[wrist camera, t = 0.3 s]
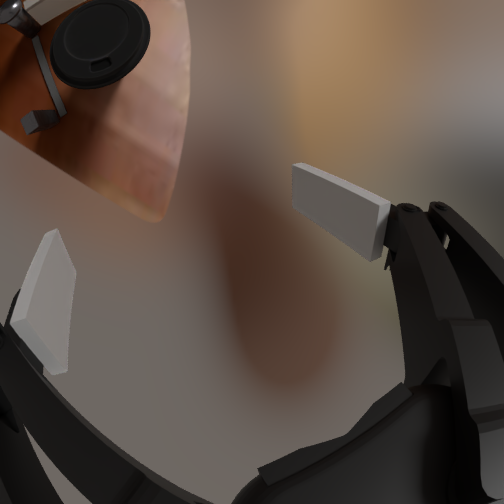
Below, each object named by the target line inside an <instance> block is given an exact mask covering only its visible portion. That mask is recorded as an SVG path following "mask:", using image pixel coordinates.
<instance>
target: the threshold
mask: <svg viewBox="0 0 504 504" xmlns="http://www.w3.org/2000/svg"><path fill="white" fill-rule="evenodd" d="M32 42H33V45H34V49H35V52H36V55H37V58H38V61H39V64H40V67H41V69H42V72H43V75H44V78H45V80H46V83H47V86H48V88H49V91H50V93H51V96H52V98H53V100H54V103H55V105H56V108H57V110H58V112H59V115H60V117H62V116H63V115H65V114H67V111H66V109H65V107H64V104H63V102H62V100H61V97H60V95H59V92H58V90H57V87H56V85H55V82H54V80H53V77H52V75H51V72H50V69H49V66H48V64H47V61H46V58H45V55H44V52H43V49H42V46H41V43H40V40H39V36H38V35H37V36H36V37H34V38H33V39H32Z"/></svg>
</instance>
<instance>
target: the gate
mask: <svg viewBox="0 0 504 504" xmlns="http://www.w3.org/2000/svg"><path fill="white" fill-rule="evenodd" d="M84 1H87V0H26V1H25V2H23V3H24V7H25V10H26V11H27V12H28V13H29V14H30V15H31V16H32V17H33V18H34V19H35V20H36V21H37V22H38V23H39V24H40V25H41V26H42V25H43V24H45V23H46V22H48V21H50V20H51V19H53V18H55V17H56V16H58V15H60V14H62V13H63V12H65V11H67V10H69V9H71V8H73V7H75V6H76V5H78V4H80V3H82V2H84Z"/></svg>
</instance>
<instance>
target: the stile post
mask: <svg viewBox="0 0 504 504" xmlns="http://www.w3.org/2000/svg"><path fill="white" fill-rule="evenodd" d="M21 122H22V125H23V127H24V129H25V132H26V134H27V135H29V134H32V133H36V132H39V131H42V130H46V129H50V128H52V127H53V126H55V125H56V124H57V123H59V122H60V120H59V118H58V116H57V114H56V111H55V110H33V111H31V112H29V113H28V114H27V115H26V116H24V117H23V118H22V119H21Z"/></svg>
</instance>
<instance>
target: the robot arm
mask: <svg viewBox="0 0 504 504" xmlns="http://www.w3.org/2000/svg"><path fill="white" fill-rule="evenodd" d="M292 204H293V205H292V207H293V208H294V209H296V210H297V211H299V212H300V213H301V214H303V215H304V216H306V217H308V218H309V219H310V220H312V221H313V222H315V223H316V224H318V225H319V226H320V227H322V228H324V229H325V230H326V231H328V232H329V233H331V234H332V235H333V236H335V237H336V238H338V239H339V240H341V241H342V242H343V243H345V244H346V245H347V246H349V247H350V248H352V249H353V250H354V251H356V252H357V253H359V254H360V255H361V256H363V257H364V258H365V259H367V260H368V261H370V262H371V261H373V260H375V259H378V258H380V257H381V254H382V250H383V245H384V246H386V247H387V248H389V250H388V254H387V259H386V263H385V267H384V270H386V269H387V267H388V266H390V271H391V275H392V280H393V285H394V290H395V295H396V301H397V307H398V314H399V320H400V327H401V334H402V343H403V352H404V362H405V380H404V384H403V383H402V382H401V383H399V384H398V385H397V386H396V387H394V388H393V389H392V390H391V391H389V392H388V393H387V394H385V395H384V396H383V397H381V398H380V399H379V400H378V401H376V402H375V403H373V405H372V406H371V407H370V408H369V410H368V411H367V412H366V413H365V414H364V415H363V417H362V418H361V419H360V420H359V421H358V422H357V423H356V424H355V426H354V427H353V428H352V429H351V430H350V431H349V432H348V433H347V434H345V435H344V436H341V437H338V438H335V439H332V440H329V441H326V442H322V443H319V444H316V445H312V446H308V447H305V448H301V449H298V450H296V451H294V452H292V453H290V454H288V455H286V456H284V457H282V458H280V459H278V460H276V461H273V462H271V463H269V464H266V465H264V466H262V467H260V468H257V469H258V472H259V475H258V476H257V477H255V478H254V479H253V480H251V481H250V482H249V483H248V484H247V485H246V486H245V487H244V488H243V489H242V490H241V491H240V492H239V493H238V494H237V496H236V497H235V499H234V500H233V502H232V504H504V259H503V258H502V257H501V256H500V255H499V254H498V252H497V251H496V250H495V249H494V248H493V247H492V246H491V245H490V244H489V243H488V242H487V241H486V240H485V239H484V238H483V237H482V236H481V235H480V234H479V233H478V232H477V231H476V230H475V229H474V228H473V227H472V226H471V225H470V224H469V223H468V222H466V221H465V220H464V219H463V218H462V217H461V216H460V215H459V214H458V213H457V212H455V211H454V210H453V209H452V208H451V207H449V206H448V205H446V204H445V203H442V202H431V203H430V205H429V210H428V212H423V211H422V210H421V209H420V208H419V207H417V206H415V205H413V204H409V203H401V204H398V205H397V207H396V206H394V205H392V204H391V202H389V201H387V200H385V199H383V198H381V197H379V196H377V195H375V194H373V193H371V192H369V191H367V190H365V189H363V188H361V187H359V186H356V185H354V184H352V183H350V182H347V181H345V180H343V179H341V178H339V177H336V176H334V175H331V174H329V173H327V172H325V171H322V170H320V169H317V168H315V167H312V166H310V165H307V164H305V163H297V164H292ZM447 235H448V236H449V239H450V241H449V244H448V247H447V249H445V248H444V243H445V240H446V236H447ZM76 274H77V272H76V270H75V268H74V266H73V264H72V261H71V259H70V257H69V255H68V252H67V250H66V248H65V245H64V243H63V241H62V238H61V236H60V233H59V231H58V229H54V230H52V231H49V232H47V233H45V235H44V237H43V239H42V242H41V243H40V245H39V248H38V250H37V252H36V254H35V256H34V258H33V261H32V263H31V265H30V268H29V270H28V273H27V275H26V277H25V280H24V283H23V285H22V288H21V289H19V291H18V292H17V294H16V295H15V297H14V298H13V301H12V304H11V307H10V310H9V314H8V316H7V319H6V322H5V325H4V327H3V326H2V324H1V323H0V504H64V503H63V502H62V501H61V499H60V497H59V495H58V494H57V492H56V491H55V489H54V487H53V486H52V484H51V482H50V480H49V479H48V477H47V475H46V473H45V471H44V469H43V467H42V465H41V463H40V461H39V459H38V457H37V455H36V453H35V451H34V449H33V447H32V444H31V442H30V440H29V437H28V435H27V432H26V430H25V428H24V426H25V427H26V428H27V430H28V431H29V433H30V434H31V435H32V437H33V438H34V440H35V441H36V442H37V444H38V445H39V446H40V448H41V449H42V450H43V451H44V452H45V454H46V455H47V456H48V457H49V459H50V460H51V461H52V462H53V463H54V465H55V466H56V467H57V468H58V469H59V470H60V472H61V473H62V474H63V475H64V476H65V477H66V478H67V479H68V480H69V481H70V482H71V483H72V484H73V485H74V486H75V487H76V488H77V489H78V490H79V491H80V492H81V493H82V494H83V495H84V496H85V497H86V498H87V499H88V500H89V501H90V502H91V503H92V504H213V503H211V502H209V501H207V500H205V499H202V498H200V497H198V496H196V495H194V494H191V493H190V492H188V491H186V490H184V489H182V488H180V487H178V486H176V485H175V484H173V483H171V482H169V481H168V480H166V479H165V478H163V477H161V476H160V475H158V474H156V473H155V472H153V471H152V470H150V469H149V468H147V467H146V466H144V465H143V464H141V463H140V462H138V461H137V460H136V459H134V458H133V457H131V456H130V455H129V454H127V453H126V452H125V451H123V450H122V449H120V448H119V447H118V446H117V445H116V444H114V443H113V442H112V441H111V440H109V439H108V438H107V437H106V436H104V435H103V434H102V433H101V432H100V431H99V430H97V429H96V428H95V427H94V426H93V425H92V424H90V423H89V422H88V421H87V420H86V419H85V418H84V417H83V416H82V415H81V414H80V413H79V412H78V411H77V410H76V409H75V408H74V407H73V406H71V404H70V403H69V402H68V401H67V400H66V399H65V398H64V397H63V396H62V395H61V394H60V393H59V392H58V391H57V390H56V389H55V387H54V386H53V385H52V384H51V383H50V382H49V381H48V380H47V379H46V377H44V375H43V366H44V367H45V368H46V369H47V370H48V371H49V373H50V374H51V375H56V374H60V373H64V372H67V370H68V369H67V368H68V366H67V365H68V343H69V329H70V318H71V308H72V301H73V293H74V286H75V280H76ZM23 424H24V425H23Z"/></svg>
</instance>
